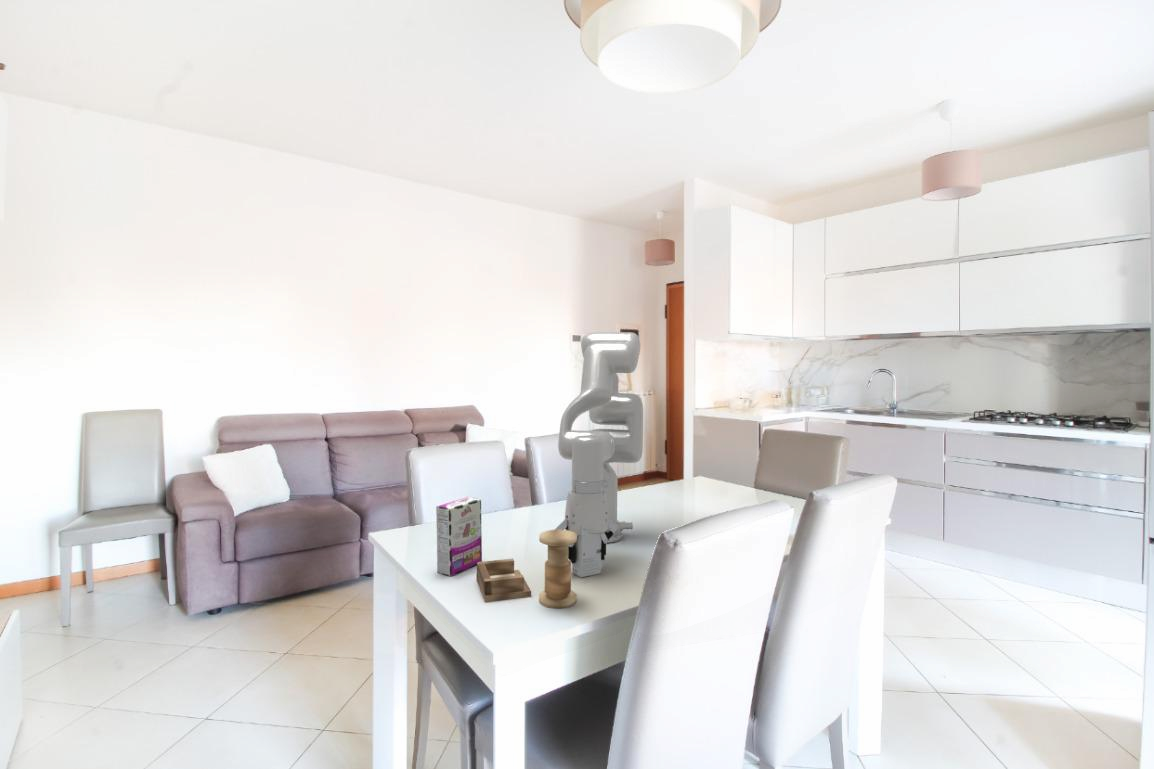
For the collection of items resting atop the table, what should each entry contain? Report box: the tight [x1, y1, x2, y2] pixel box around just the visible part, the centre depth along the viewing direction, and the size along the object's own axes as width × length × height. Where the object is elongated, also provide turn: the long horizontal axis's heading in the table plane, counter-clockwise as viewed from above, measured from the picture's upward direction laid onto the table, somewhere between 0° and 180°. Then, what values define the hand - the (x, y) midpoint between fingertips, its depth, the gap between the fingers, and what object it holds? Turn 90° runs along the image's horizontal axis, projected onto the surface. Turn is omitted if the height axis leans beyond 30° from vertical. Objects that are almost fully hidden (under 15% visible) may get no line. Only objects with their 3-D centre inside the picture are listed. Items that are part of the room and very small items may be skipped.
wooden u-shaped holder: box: [476, 558, 532, 603], centre depth 124 cm, size 10×13×4 cm
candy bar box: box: [435, 496, 483, 577], centre depth 136 cm, size 11×5×16 cm, turn 148°
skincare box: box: [571, 527, 602, 578], centre depth 133 cm, size 6×4×12 cm
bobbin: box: [538, 529, 577, 609], centre depth 118 cm, size 8×8×14 cm
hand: (586, 559), depth 133 cm, fingers closed on skincare box, 6 cm apart
